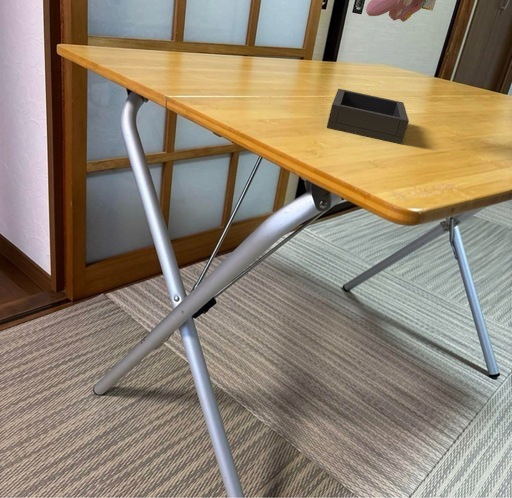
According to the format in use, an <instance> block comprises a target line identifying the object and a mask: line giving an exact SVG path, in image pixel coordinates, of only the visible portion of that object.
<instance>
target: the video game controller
mask: <svg viewBox="0 0 512 498" xmlns="http://www.w3.org/2000/svg"><path fill="white" fill-rule="evenodd" d="M423 3H424V0H370V1H369V2H368V3H367V4H366V8H365V12H366V14H367V15H368V17H379V16H381V15H384V14H387V13H388V16H389V18H390V20H392V21H398V20H400V21H401V22H402V23H404V22H406V21H408V19H410V18H411V17H412V16H413V15H414V14H415V13H417V12H418V11H420V10H422V6H423Z"/></svg>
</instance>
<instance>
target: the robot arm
mask: <svg viewBox="0 0 512 498" xmlns="http://www.w3.org/2000/svg"><path fill="white" fill-rule="evenodd" d="M436 2H437V0H424V3H423V6H422V8H421V10H426V11H431V12H432V11H434V8H435V5H436Z"/></svg>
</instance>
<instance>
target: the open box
mask: <svg viewBox="0 0 512 498" xmlns="http://www.w3.org/2000/svg"><path fill="white" fill-rule="evenodd" d="M409 122H410V119H409V117H408V113H407V110H406V105H405V103H404V102H403V101H399V100H394V99H390V98H384V97H380V96H377V95H376V96H375V95H371V94H366V93H361V92H357V91H352V90H347V89H343V88H338V89H337V91H336V93H335V96H334V99H333V101H332V103H331V107H330V112H329V116H328V120H327V124H326V128H327V129H332V130H337V131H341V132H344V133H345V132H346V133H350V134H354V135H359V136H363V137H368V138H372V139H375V140H376V139H377V140H382V141H385V142H391V143H395V144H399V145H402V144H403V142H404V138H405V135H406V132H407V129H408V125H409Z"/></svg>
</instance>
